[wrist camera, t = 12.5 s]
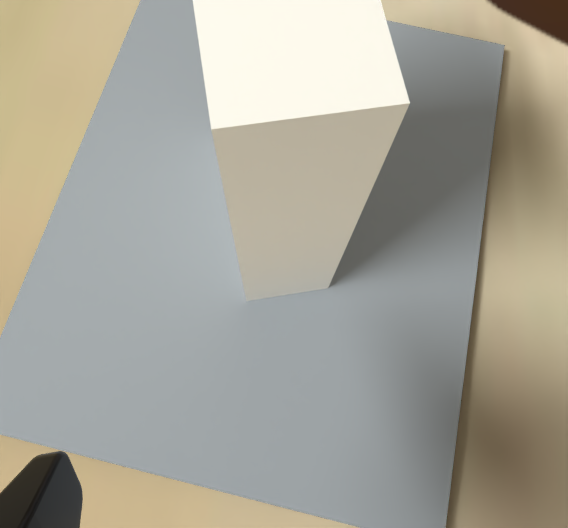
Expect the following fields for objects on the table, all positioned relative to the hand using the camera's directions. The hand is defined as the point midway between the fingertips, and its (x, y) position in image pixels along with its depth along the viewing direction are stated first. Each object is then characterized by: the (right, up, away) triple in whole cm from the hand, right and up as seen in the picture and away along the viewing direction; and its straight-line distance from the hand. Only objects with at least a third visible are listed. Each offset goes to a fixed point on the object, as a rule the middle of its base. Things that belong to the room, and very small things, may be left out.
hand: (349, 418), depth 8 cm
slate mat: (-2, +5, +11) cm, 12 cm away
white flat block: (-2, +5, +11) cm, 12 cm away
